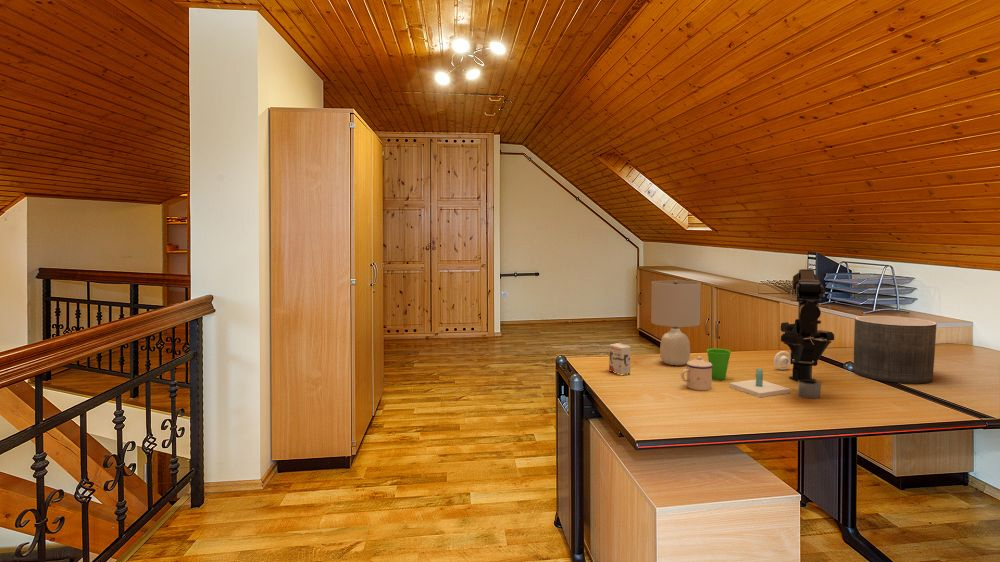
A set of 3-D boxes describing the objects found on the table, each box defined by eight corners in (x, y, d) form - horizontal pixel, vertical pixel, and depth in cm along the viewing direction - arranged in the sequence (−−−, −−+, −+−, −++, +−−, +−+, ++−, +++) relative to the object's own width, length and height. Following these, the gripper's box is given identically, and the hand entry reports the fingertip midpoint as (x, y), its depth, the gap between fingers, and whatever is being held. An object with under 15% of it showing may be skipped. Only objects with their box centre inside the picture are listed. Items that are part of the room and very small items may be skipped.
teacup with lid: (702, 383, 197) (702, 353, 196) (717, 389, 188) (718, 358, 187) (674, 385, 194) (674, 355, 193) (688, 392, 185) (689, 360, 184)
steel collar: (807, 392, 183) (807, 378, 183) (824, 397, 177) (824, 383, 177) (794, 394, 181) (794, 380, 181) (810, 399, 175) (811, 385, 175)
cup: (733, 381, 198) (733, 353, 197) (708, 380, 200) (708, 353, 199) (727, 375, 207) (728, 348, 206) (703, 374, 209) (704, 348, 208)
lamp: (654, 368, 219) (654, 282, 217) (648, 358, 239) (649, 279, 236) (704, 370, 216) (705, 282, 213) (694, 359, 236) (695, 279, 233)
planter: (943, 377, 201) (946, 321, 199) (919, 388, 186) (922, 328, 184) (867, 364, 221) (870, 313, 220) (841, 374, 207) (843, 319, 205)
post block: (758, 382, 196) (758, 363, 195) (790, 392, 183) (790, 372, 182) (729, 386, 191) (729, 367, 191) (759, 397, 178) (760, 376, 178)
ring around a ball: (776, 371, 212) (777, 352, 212) (767, 368, 218) (768, 349, 217) (794, 370, 214) (794, 351, 213) (784, 367, 219) (785, 348, 219)
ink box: (608, 371, 216) (608, 343, 215) (617, 370, 218) (617, 342, 218) (621, 376, 209) (621, 347, 208) (631, 374, 211) (631, 346, 210)
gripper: (807, 312, 188) (805, 354, 190) (768, 315, 182) (767, 359, 183) (836, 316, 178) (834, 360, 179) (795, 320, 172) (794, 366, 173)
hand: (806, 361), depth 179 cm, fingers open, 9 cm apart
